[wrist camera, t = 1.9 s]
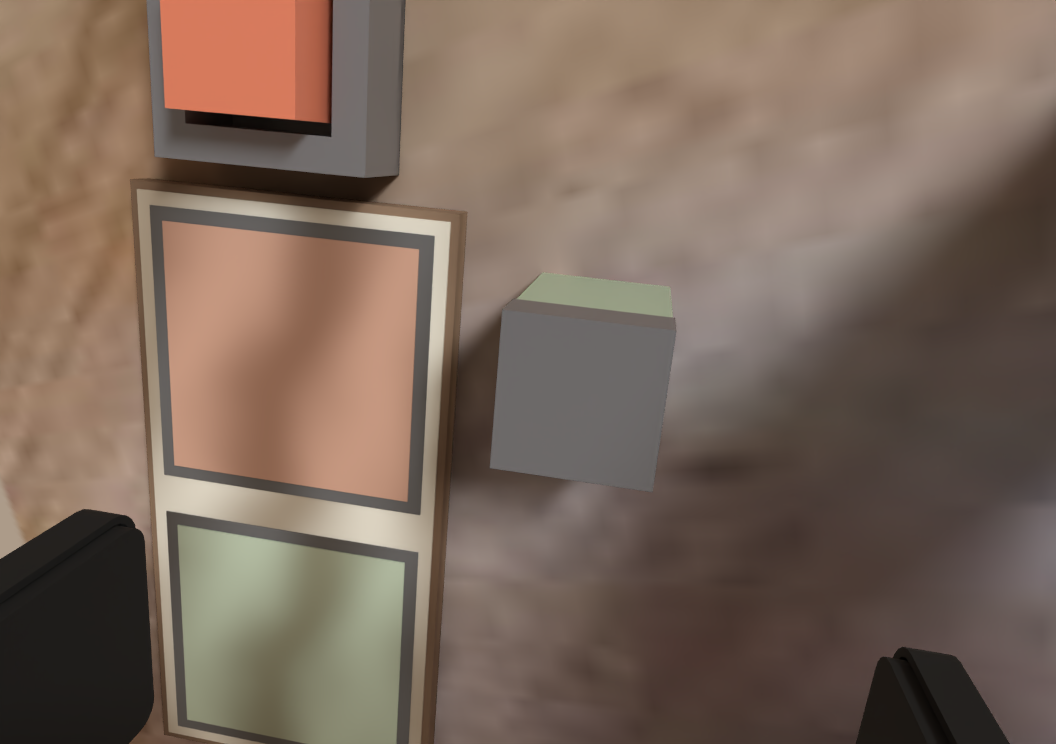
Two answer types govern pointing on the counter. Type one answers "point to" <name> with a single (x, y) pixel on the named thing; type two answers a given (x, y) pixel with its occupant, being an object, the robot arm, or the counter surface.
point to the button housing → (329, 148)
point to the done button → (249, 57)
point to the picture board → (297, 458)
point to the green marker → (583, 380)
